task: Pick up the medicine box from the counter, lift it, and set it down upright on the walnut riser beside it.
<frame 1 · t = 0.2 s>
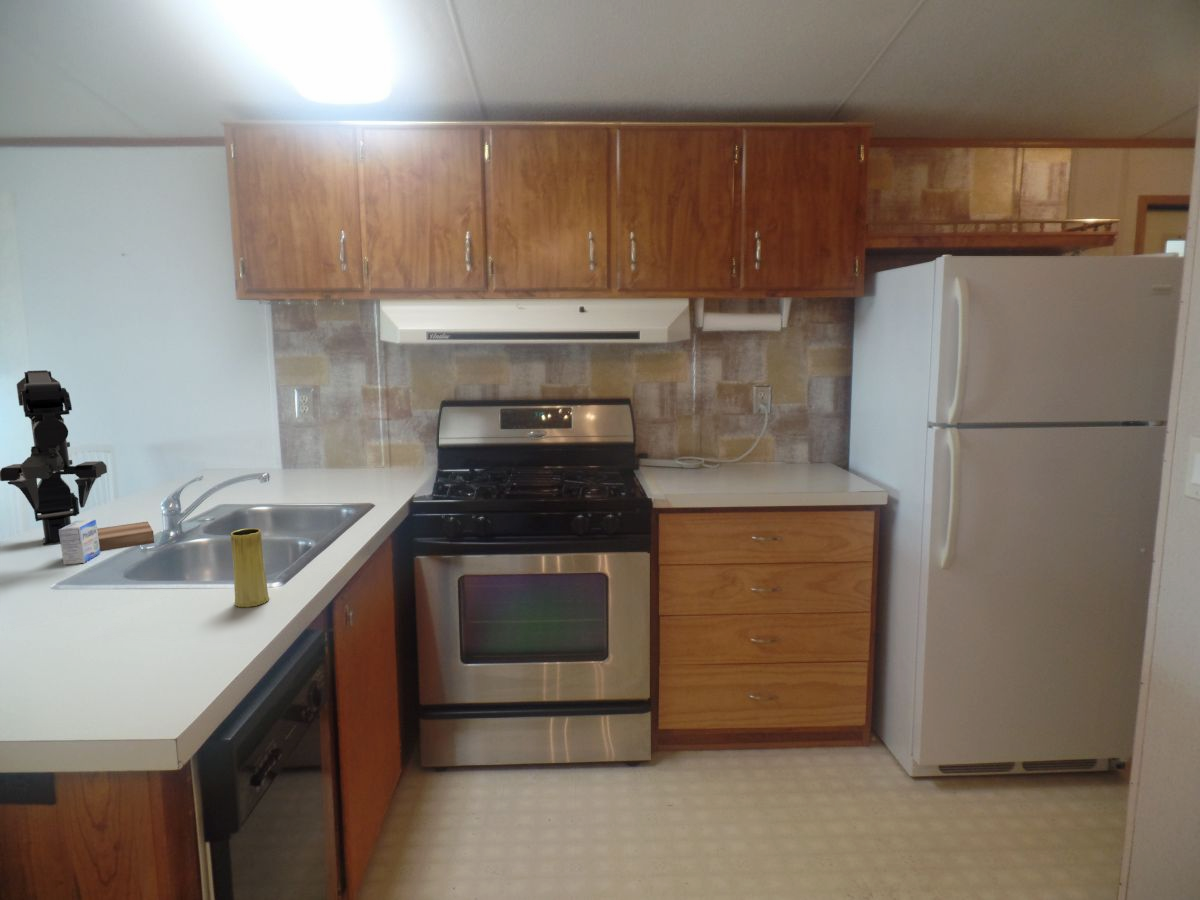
hand: (59, 508, 159), 13 cm above the counter, tool pointing down, fingers open, 9 cm apart
medicine box: (82, 560, 166), on the counter
walnut riser: (124, 541, 180), on the counter
vase: (252, 603, 138), on the counter
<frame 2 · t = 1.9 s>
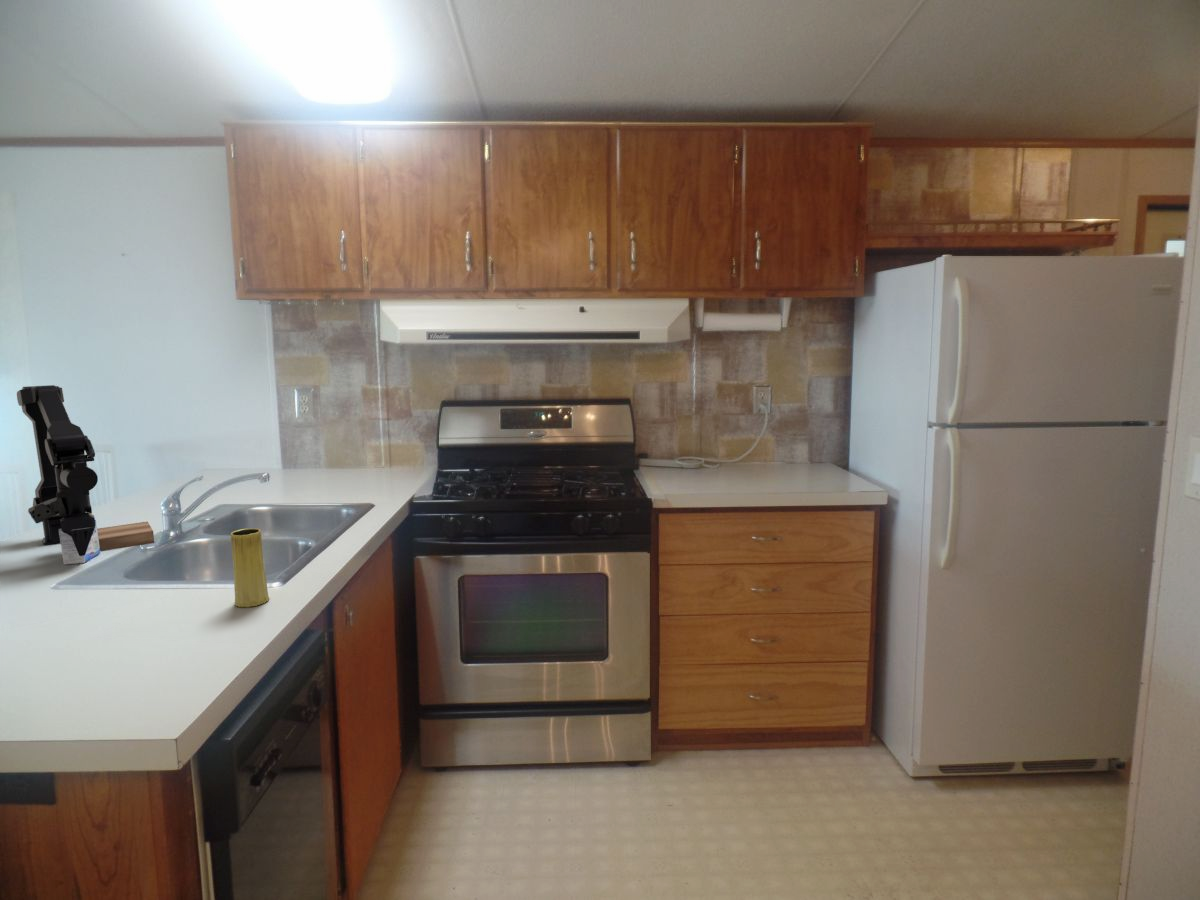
hand: (81, 550, 165), 2 cm above the counter, tool pointing down, fingers closed on medicine box, 9 cm apart
medicine box: (82, 560, 166), on the counter, touching gripper
everything else where it was.
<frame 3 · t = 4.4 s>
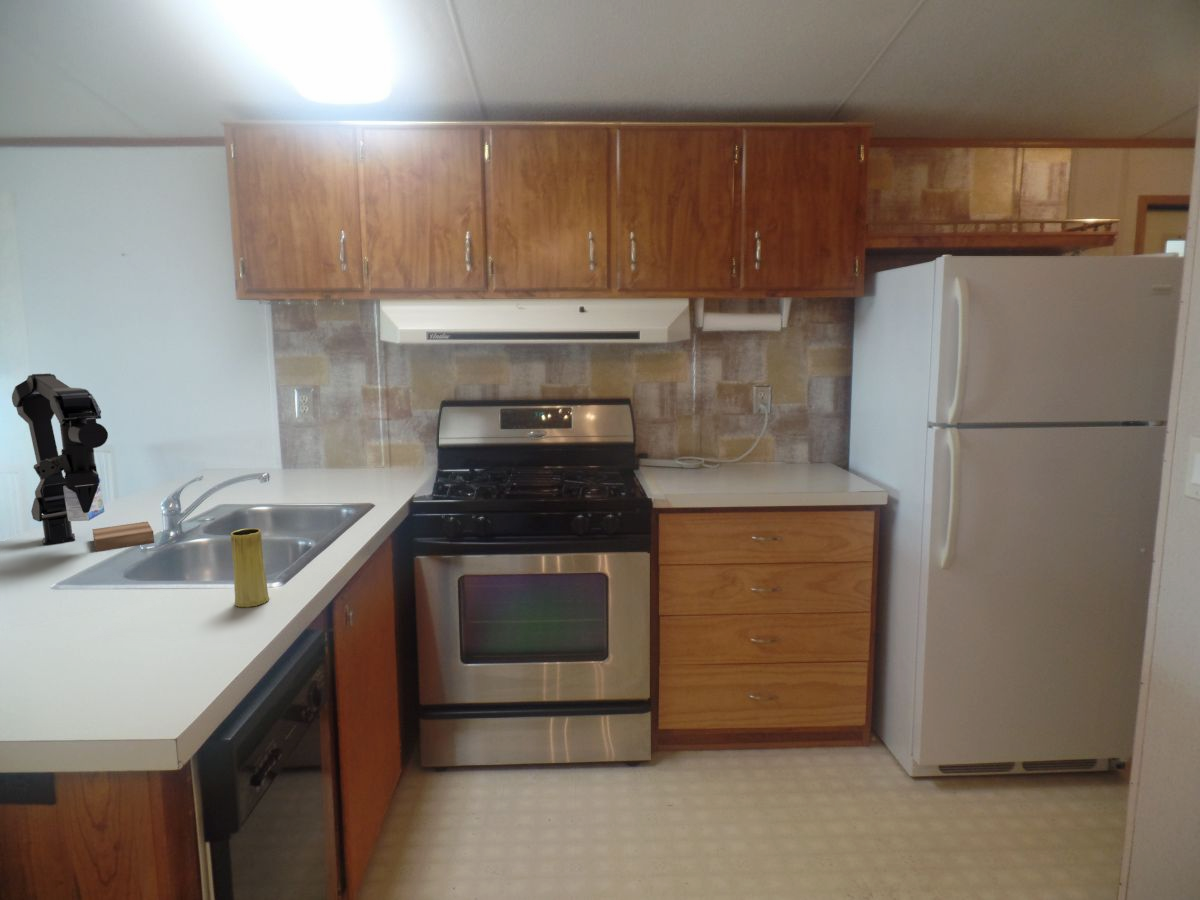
hand: (85, 508, 167), 11 cm above the counter, tool pointing down, fingers closed on medicine box, 9 cm apart
medicine box: (86, 517, 167), point 9 cm above the counter, touching gripper
everything else where it was.
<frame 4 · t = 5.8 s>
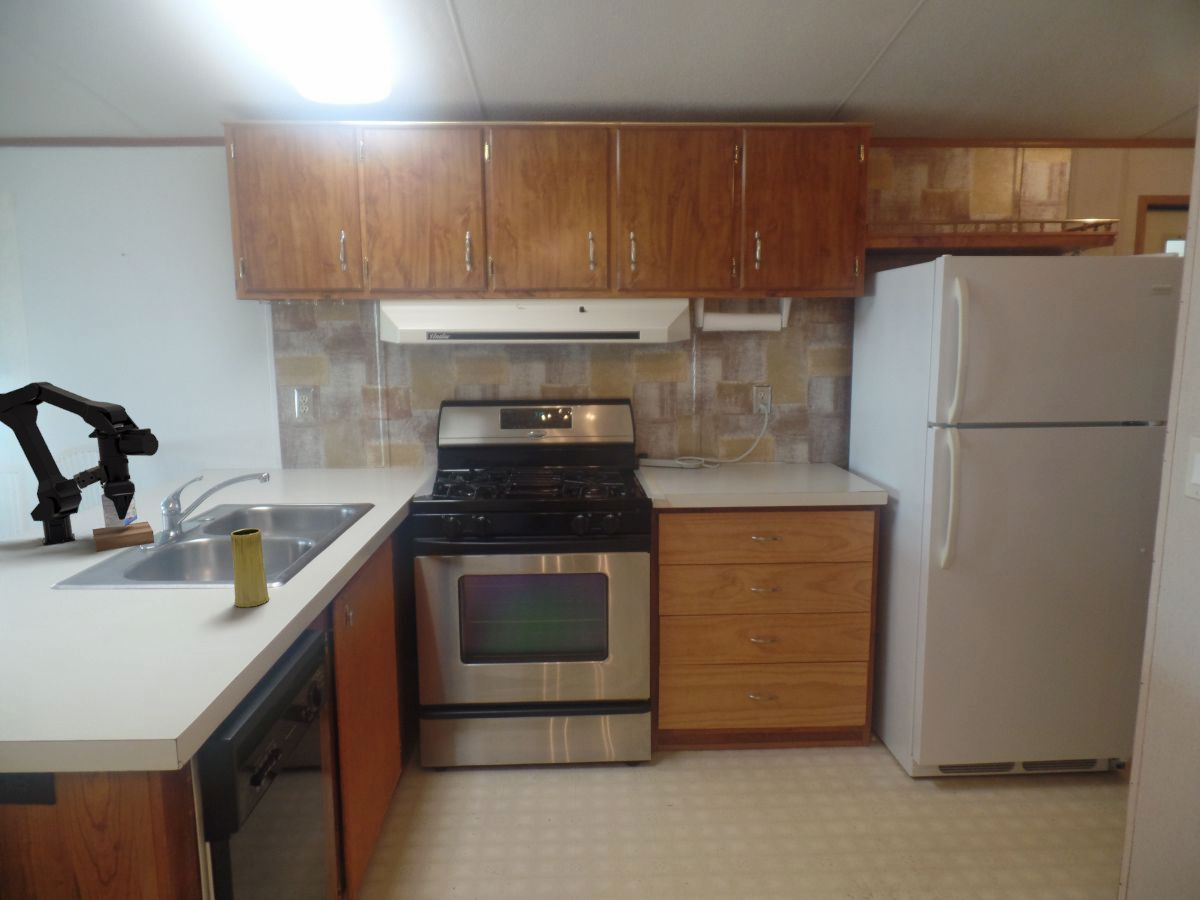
hand: (120, 515, 178), 7 cm above the counter, tool pointing down, fingers closed on medicine box, 9 cm apart
medicine box: (121, 524, 179), point 5 cm above the counter, touching gripper
everything else where it was.
when the fingers open (6 cm above the counter, at t = 6.9 s): medicine box drops 1 cm, resting on walnut riser.
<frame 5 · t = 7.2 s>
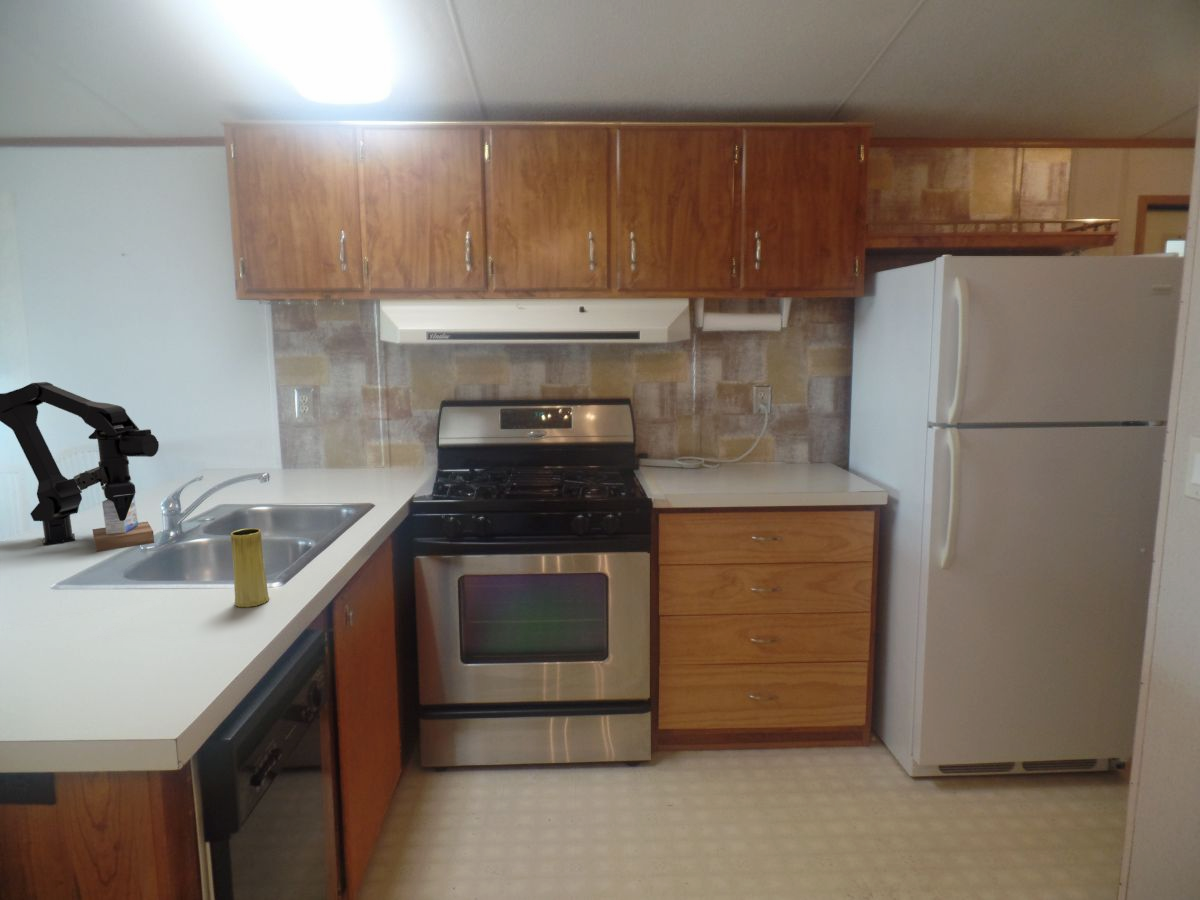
hand: (120, 516, 179), 6 cm above the counter, tool pointing down, fingers open, 9 cm apart
medicine box: (122, 530, 179), point 3 cm above the counter, touching gripper, walnut riser
everything else where it was.
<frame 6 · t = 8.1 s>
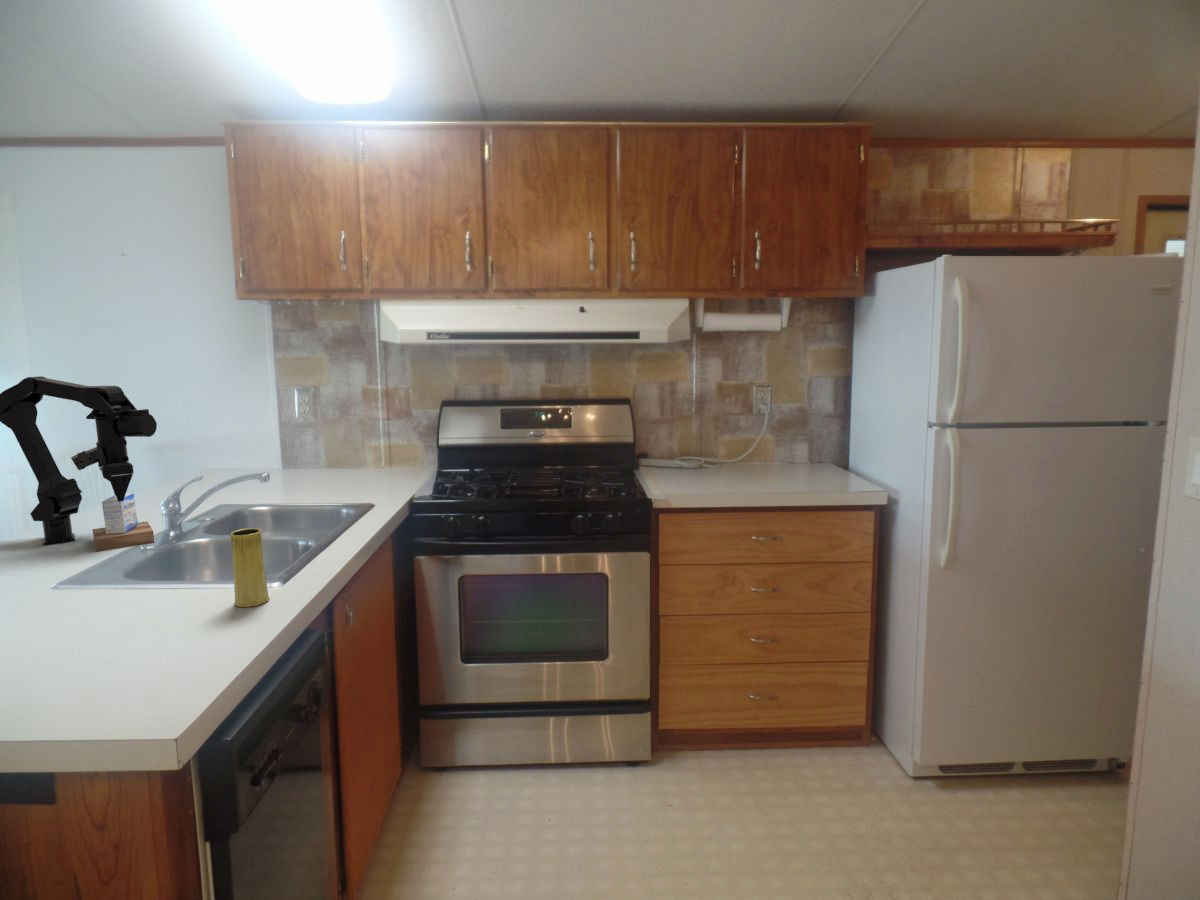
hand: (119, 497, 178), 11 cm above the counter, tool pointing down, fingers open, 9 cm apart
nothing on the counter moved.
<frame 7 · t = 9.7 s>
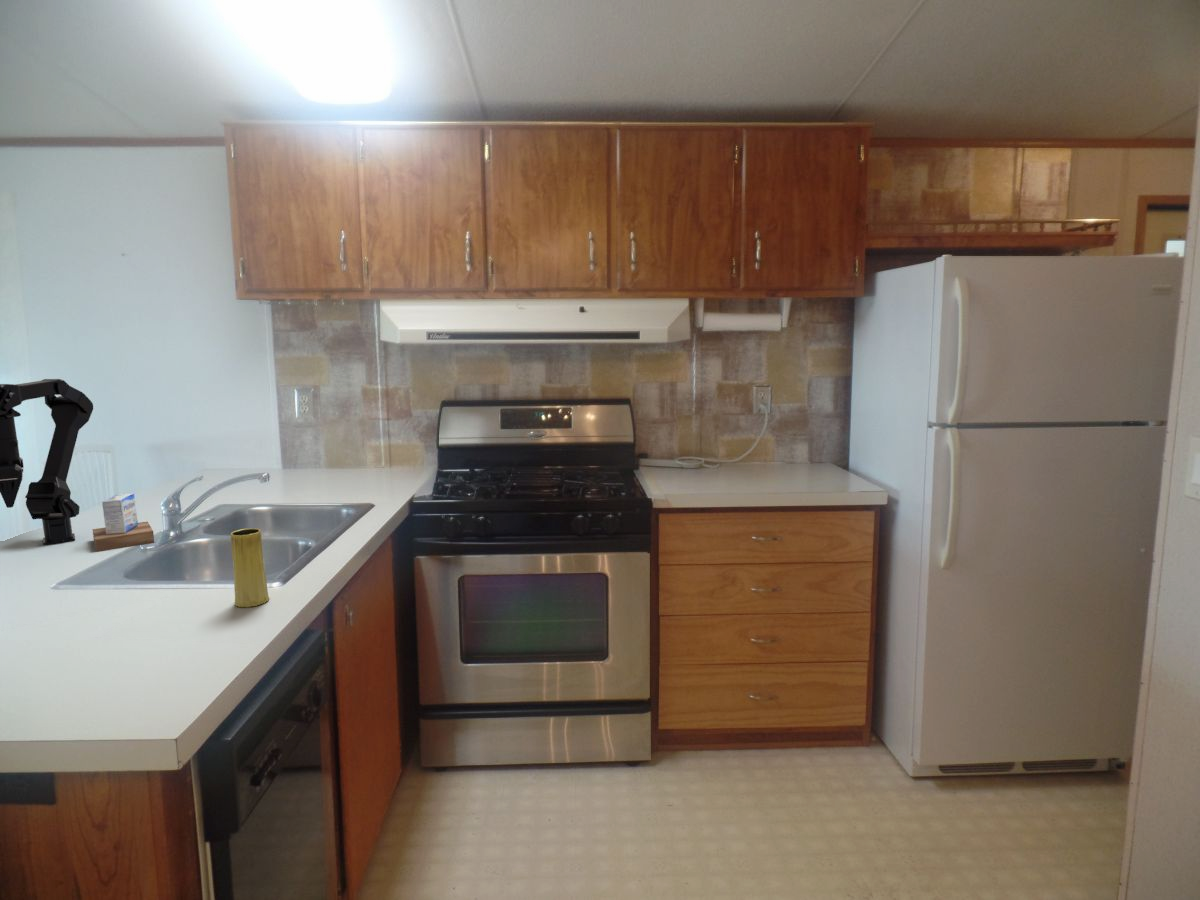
hand: (10, 503, 165), 13 cm above the counter, tool pointing down, fingers open, 9 cm apart
medicine box: (122, 530, 179), point 3 cm above the counter, touching walnut riser
everything else where it was.
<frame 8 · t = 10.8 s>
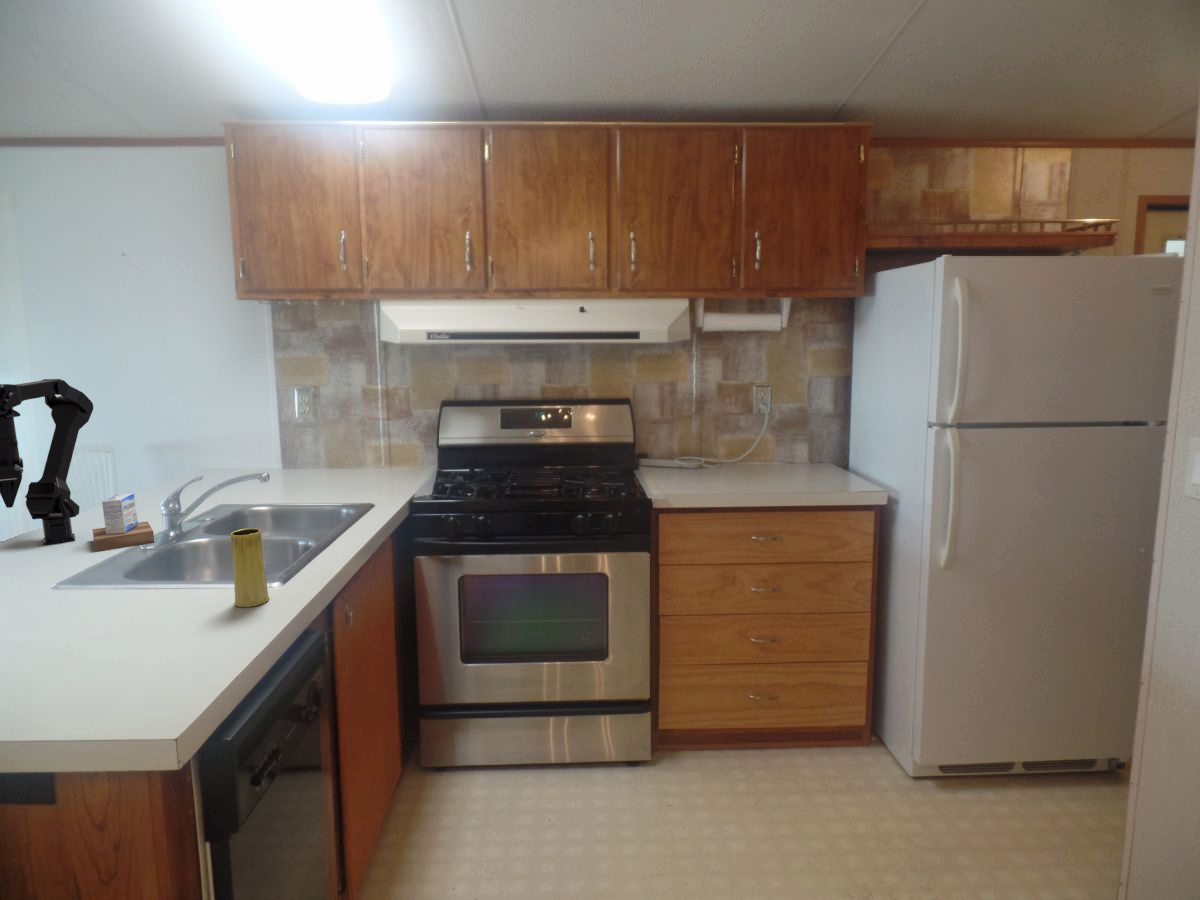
hand: (10, 503, 165), 13 cm above the counter, tool pointing down, fingers open, 9 cm apart
nothing on the counter moved.
at the end: medicine box inside the target area on the walnut riser (0.1 cm from its centre), point 2.8 cm above the walnut riser's base; medicine box tilted 0°; the gripper is holding nothing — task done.
